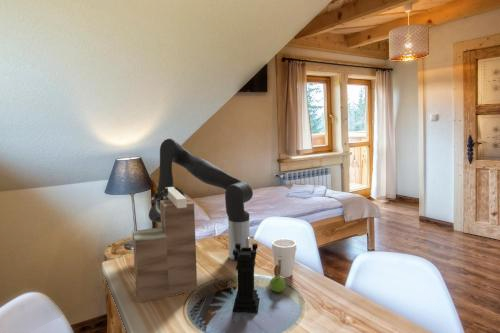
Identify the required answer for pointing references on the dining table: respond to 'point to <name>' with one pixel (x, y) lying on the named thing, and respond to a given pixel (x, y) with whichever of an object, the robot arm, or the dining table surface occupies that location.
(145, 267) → the stepped stand
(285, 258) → the foam cup
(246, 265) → the chess piece
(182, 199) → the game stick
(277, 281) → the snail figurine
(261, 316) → the dining table surface
